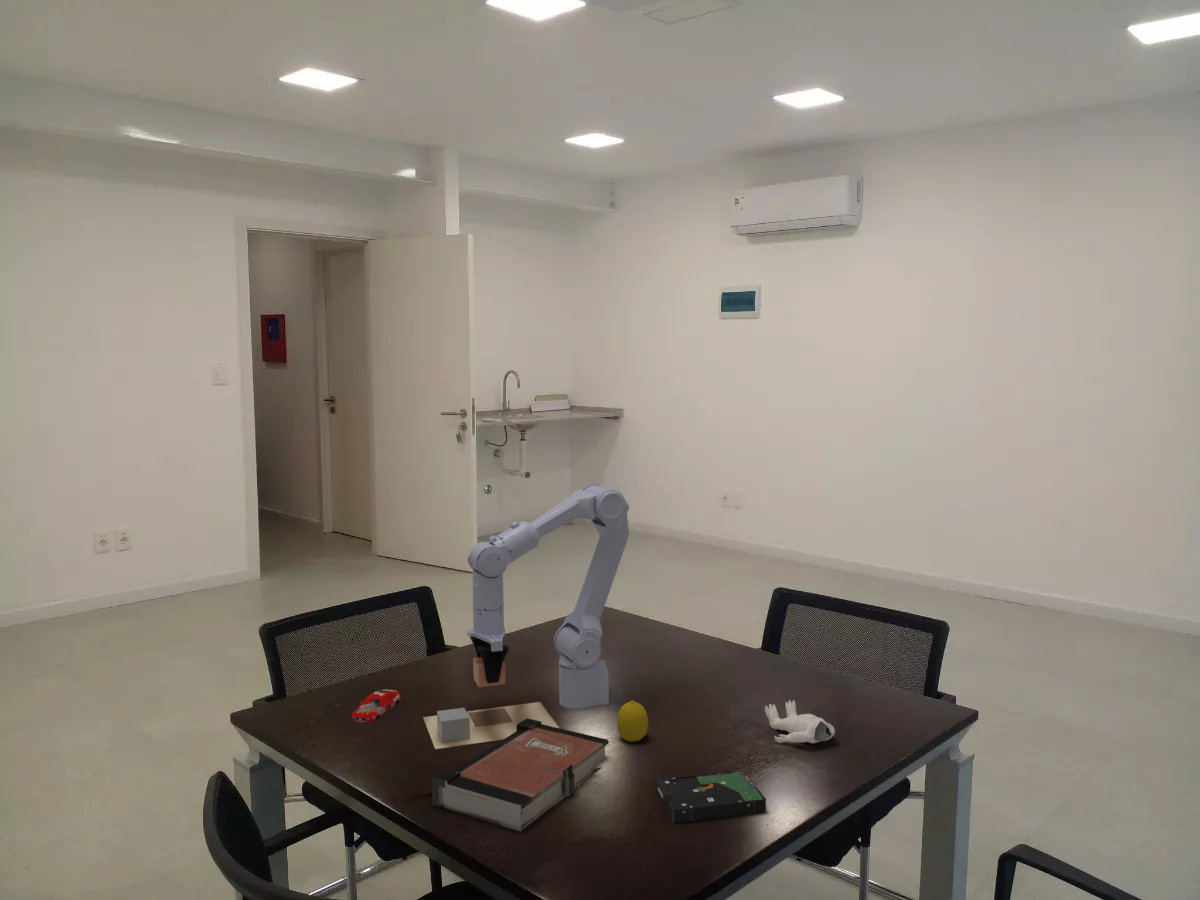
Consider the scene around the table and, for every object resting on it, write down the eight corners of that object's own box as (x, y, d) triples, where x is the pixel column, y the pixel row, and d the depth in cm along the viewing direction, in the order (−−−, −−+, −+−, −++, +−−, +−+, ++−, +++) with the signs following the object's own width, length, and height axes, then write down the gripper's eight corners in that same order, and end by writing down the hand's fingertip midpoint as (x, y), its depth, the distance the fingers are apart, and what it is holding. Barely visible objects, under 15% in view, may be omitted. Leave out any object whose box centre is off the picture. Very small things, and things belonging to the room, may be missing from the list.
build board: (540, 706, 182) (540, 701, 181) (561, 736, 167) (561, 730, 167) (423, 722, 174) (423, 716, 174) (435, 754, 160) (435, 748, 160)
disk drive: (673, 828, 136) (767, 815, 139) (673, 810, 136) (767, 798, 139) (655, 795, 146) (742, 784, 149) (654, 778, 146) (742, 768, 149)
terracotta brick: (499, 675, 176) (499, 655, 176) (505, 684, 171) (504, 663, 171) (473, 678, 174) (473, 658, 174) (478, 687, 170) (478, 666, 169)
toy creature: (804, 696, 175) (845, 702, 164) (808, 728, 174) (850, 737, 164) (752, 707, 170) (791, 714, 159) (756, 740, 169) (796, 750, 158)
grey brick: (464, 728, 169) (464, 707, 168) (470, 739, 164) (469, 717, 164) (437, 732, 167) (437, 711, 167) (442, 743, 162) (441, 721, 162)
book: (525, 836, 134) (524, 803, 133) (432, 807, 142) (431, 776, 142) (612, 766, 156) (612, 737, 156) (527, 745, 165) (527, 718, 164)
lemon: (651, 739, 166) (651, 697, 165) (642, 752, 160) (642, 708, 160) (622, 735, 167) (622, 693, 167) (613, 748, 162) (612, 704, 161)
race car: (372, 730, 171) (371, 709, 171) (346, 727, 173) (345, 706, 173) (406, 704, 184) (405, 685, 184) (381, 701, 186) (381, 682, 185)
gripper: (460, 599, 177) (461, 667, 178) (474, 619, 163) (476, 693, 165) (495, 595, 179) (497, 663, 181) (513, 615, 166) (514, 688, 167)
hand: (489, 677), depth 173 cm, fingers closed on terracotta brick, 5 cm apart
